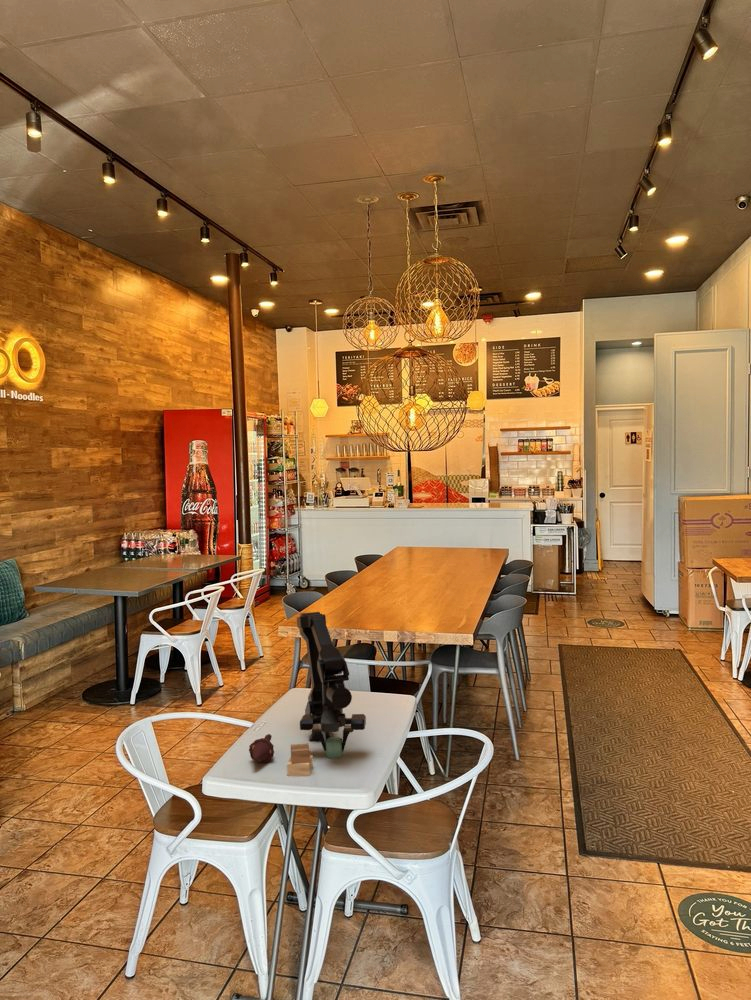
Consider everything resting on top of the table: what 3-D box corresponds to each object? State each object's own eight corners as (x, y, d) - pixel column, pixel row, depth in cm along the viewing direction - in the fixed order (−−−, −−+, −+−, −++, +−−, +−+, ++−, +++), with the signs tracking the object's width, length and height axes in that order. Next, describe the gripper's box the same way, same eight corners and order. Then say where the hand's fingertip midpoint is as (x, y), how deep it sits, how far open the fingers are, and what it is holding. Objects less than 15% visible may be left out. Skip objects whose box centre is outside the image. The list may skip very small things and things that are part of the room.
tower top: (290, 756, 196) (290, 744, 196) (308, 755, 197) (308, 743, 196) (291, 764, 191) (291, 751, 191) (310, 762, 192) (309, 749, 192)
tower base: (291, 767, 197) (291, 755, 197) (312, 767, 197) (312, 755, 197) (287, 776, 191) (286, 764, 191) (309, 776, 191) (308, 764, 191)
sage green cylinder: (327, 752, 207) (326, 736, 207) (343, 752, 206) (342, 736, 206) (325, 758, 202) (324, 743, 202) (341, 758, 202) (341, 743, 201)
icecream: (270, 750, 193) (282, 734, 208) (244, 743, 194) (259, 728, 209) (264, 774, 193) (277, 757, 208) (239, 767, 194) (253, 751, 209)
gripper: (295, 707, 196) (297, 762, 197) (361, 706, 195) (363, 762, 195) (302, 694, 207) (304, 747, 208) (365, 694, 206) (367, 746, 207)
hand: (334, 751), depth 204 cm, fingers closed on sage green cylinder, 5 cm apart
